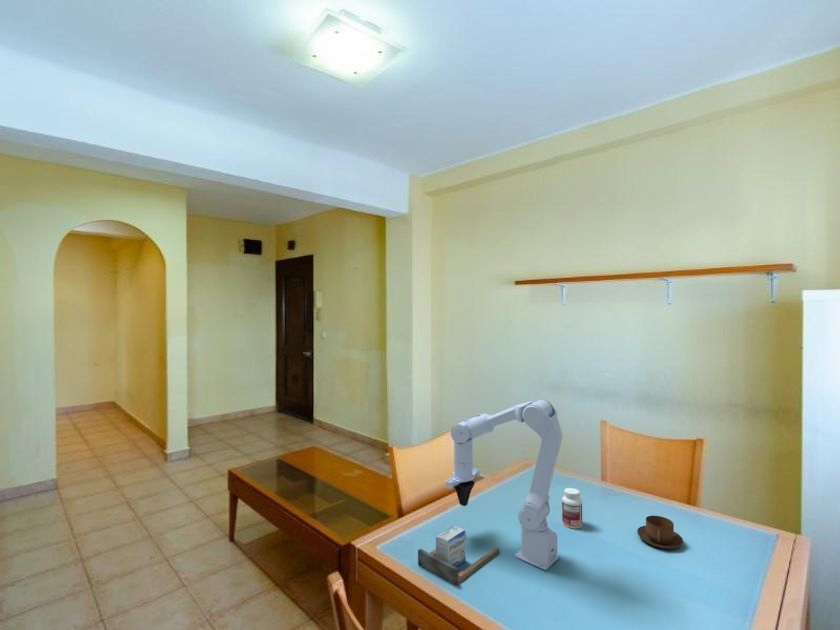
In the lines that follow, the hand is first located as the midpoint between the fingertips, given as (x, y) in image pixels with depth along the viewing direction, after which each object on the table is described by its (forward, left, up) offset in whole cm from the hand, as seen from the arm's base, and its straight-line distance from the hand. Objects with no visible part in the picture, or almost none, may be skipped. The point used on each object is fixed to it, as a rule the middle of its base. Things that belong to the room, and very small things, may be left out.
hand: (463, 504), depth 134 cm
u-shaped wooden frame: (-7, +11, -9) cm, 16 cm away
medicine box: (-7, +15, -10) cm, 19 cm away
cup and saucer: (-46, -37, -10) cm, 60 cm away
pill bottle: (-22, -29, -10) cm, 38 cm away
